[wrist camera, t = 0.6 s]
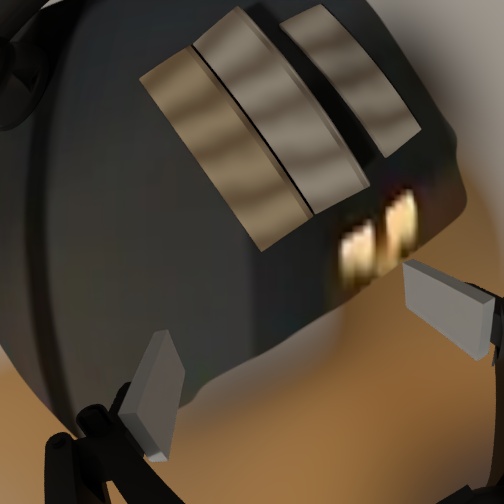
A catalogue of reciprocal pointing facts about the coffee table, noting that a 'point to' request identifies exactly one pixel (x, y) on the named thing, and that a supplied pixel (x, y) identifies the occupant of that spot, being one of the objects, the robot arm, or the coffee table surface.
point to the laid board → (227, 147)
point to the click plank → (282, 110)
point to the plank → (353, 77)
